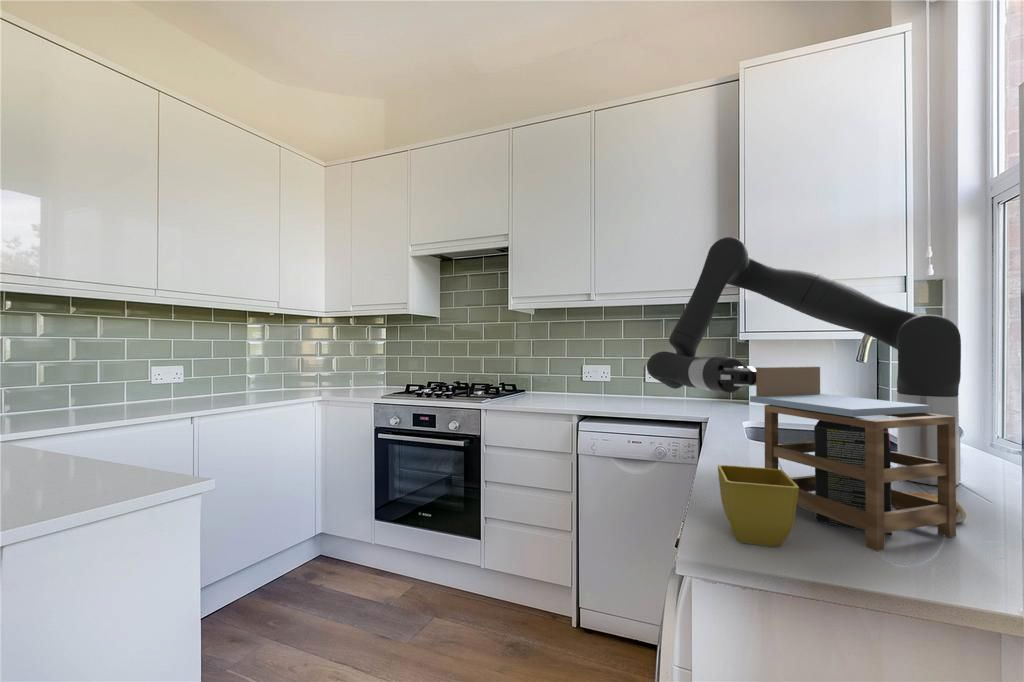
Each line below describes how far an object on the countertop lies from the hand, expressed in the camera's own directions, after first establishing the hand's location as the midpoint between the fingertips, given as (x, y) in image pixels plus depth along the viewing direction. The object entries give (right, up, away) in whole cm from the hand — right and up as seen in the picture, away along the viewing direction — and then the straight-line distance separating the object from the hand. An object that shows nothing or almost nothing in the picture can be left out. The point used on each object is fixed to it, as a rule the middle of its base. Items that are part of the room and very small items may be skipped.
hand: (784, 379), depth 83 cm
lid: (+3, -4, -9) cm, 10 cm away
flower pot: (-15, -21, -19) cm, 32 cm away
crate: (+3, -21, -12) cm, 24 cm away
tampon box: (+4, -21, -12) cm, 24 cm away
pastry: (+17, -21, -9) cm, 29 cm away
